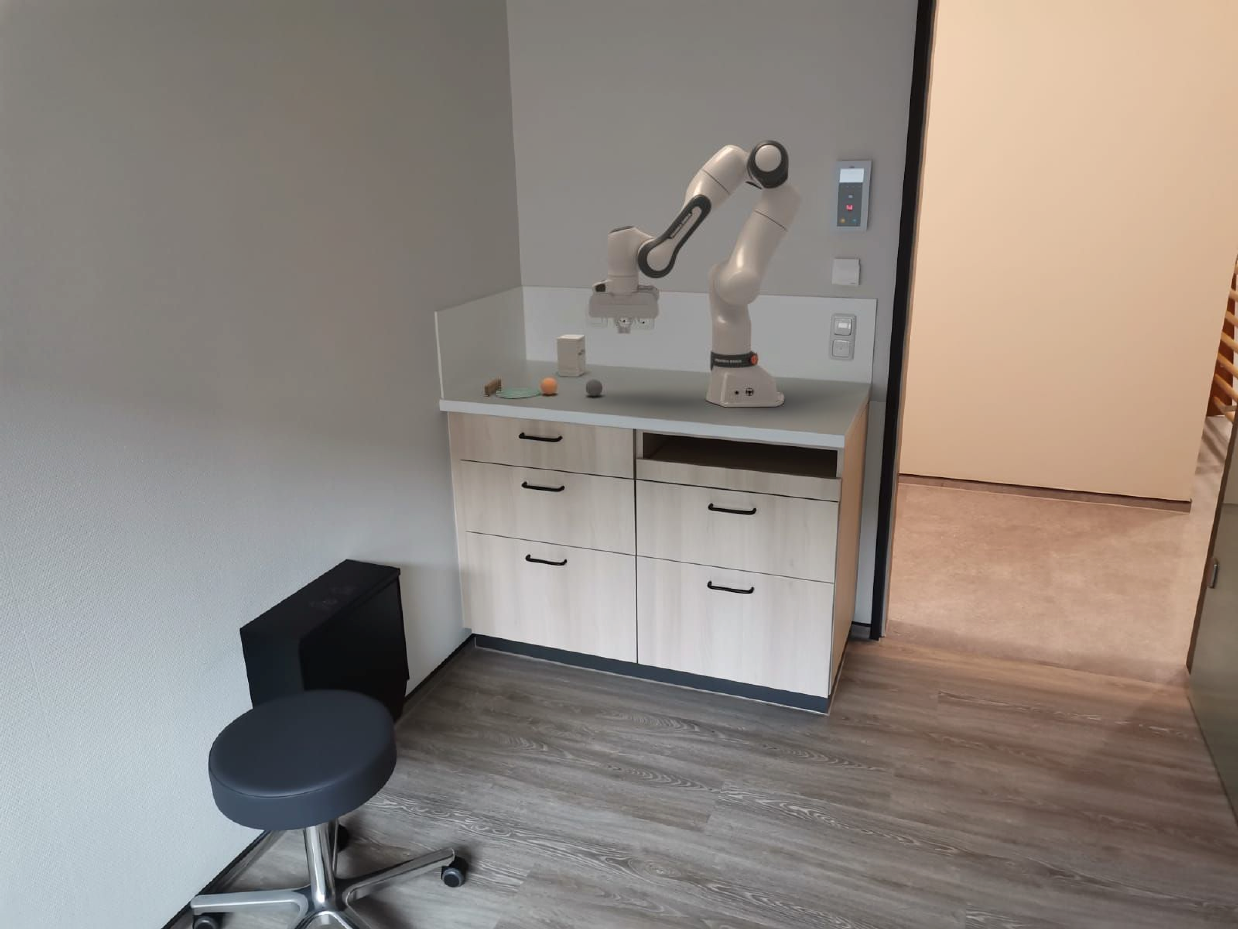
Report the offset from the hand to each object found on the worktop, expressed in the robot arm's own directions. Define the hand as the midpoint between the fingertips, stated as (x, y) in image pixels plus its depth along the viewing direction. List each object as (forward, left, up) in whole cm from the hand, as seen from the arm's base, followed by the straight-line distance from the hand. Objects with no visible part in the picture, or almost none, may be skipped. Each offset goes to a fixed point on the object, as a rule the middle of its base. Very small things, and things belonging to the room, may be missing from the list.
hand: (624, 333), depth 265 cm
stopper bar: (+42, 0, -19) cm, 46 cm away
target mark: (+34, 0, -19) cm, 39 cm away
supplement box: (+24, -27, -19) cm, 41 cm away
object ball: (+24, 0, -17) cm, 29 cm away
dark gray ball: (+10, 0, -17) cm, 19 cm away
